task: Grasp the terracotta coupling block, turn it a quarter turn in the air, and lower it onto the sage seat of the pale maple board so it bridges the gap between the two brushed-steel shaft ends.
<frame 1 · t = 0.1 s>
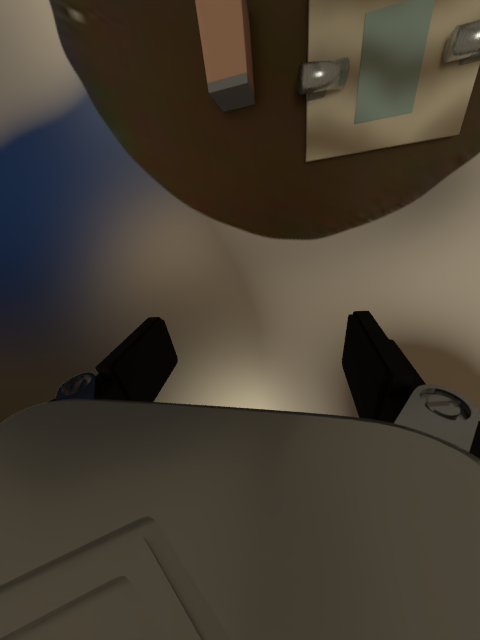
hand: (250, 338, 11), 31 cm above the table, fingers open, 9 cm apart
coupler: (234, 66, 28), on the table
shaft angled: (322, 76, 24), point 4 cm above the table
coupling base: (384, 72, 26), on the table
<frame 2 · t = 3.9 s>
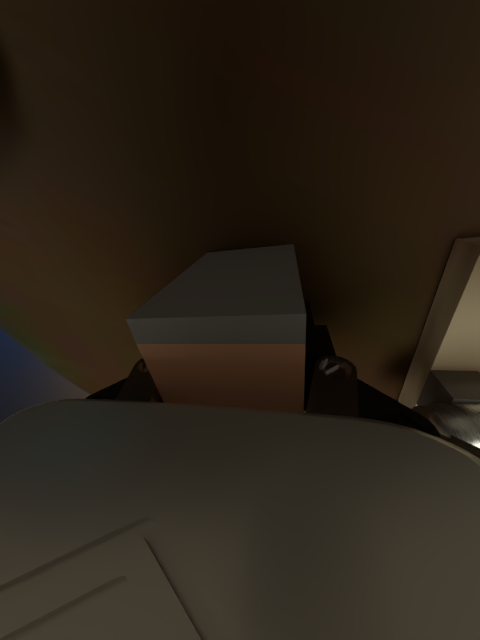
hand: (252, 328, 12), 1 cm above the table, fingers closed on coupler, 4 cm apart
coupler: (255, 316, 13), on the table, touching gripper
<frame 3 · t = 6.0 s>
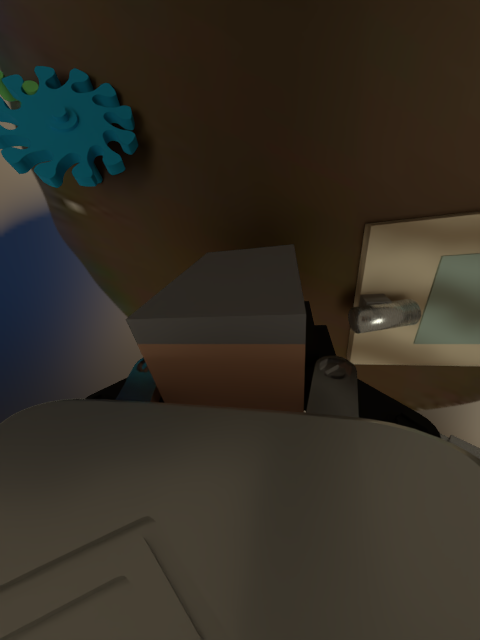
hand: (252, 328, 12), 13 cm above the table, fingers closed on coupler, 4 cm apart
coupler: (255, 316, 13), point 11 cm above the table, touching gripper
gear: (98, 135, 19), on the table
shaft angled: (382, 316, 19), point 4 cm above the table
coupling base: (455, 296, 21), on the table
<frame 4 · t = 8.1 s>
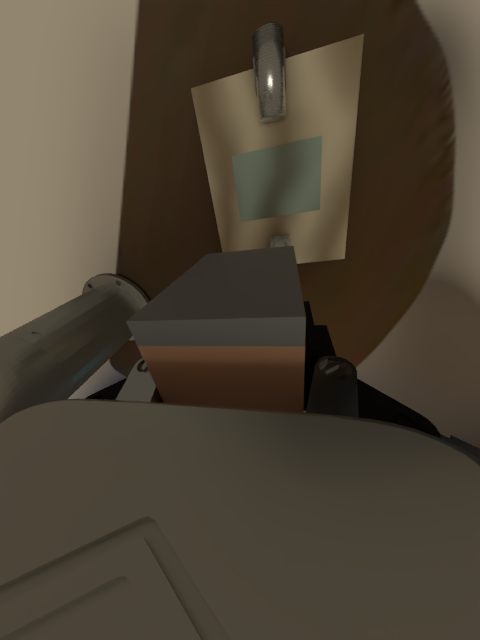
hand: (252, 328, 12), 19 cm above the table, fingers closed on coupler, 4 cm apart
coupler: (255, 317, 13), point 18 cm above the table, touching gripper
shaft angled: (280, 258, 25), point 4 cm above the table
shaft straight: (270, 79, 18), point 3 cm above the table
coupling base: (277, 184, 24), on the table
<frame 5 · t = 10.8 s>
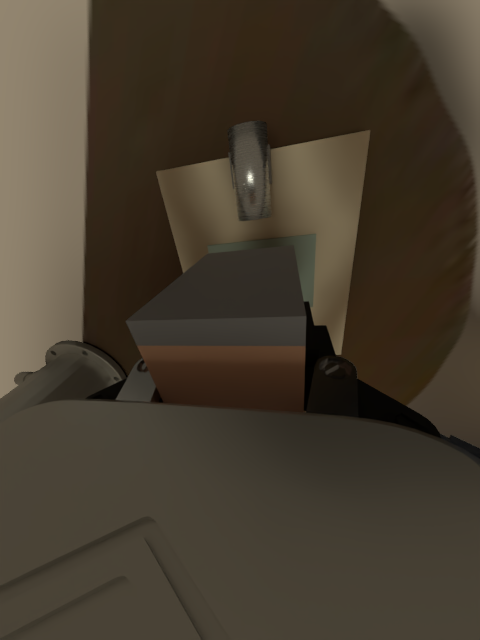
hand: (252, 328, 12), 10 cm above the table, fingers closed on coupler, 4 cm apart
coupler: (255, 316, 13), point 9 cm above the table, touching gripper
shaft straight: (251, 177, 14), point 3 cm above the table
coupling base: (263, 271, 21), on the table
when the fingers open (4 cm above the table, at t = 12.7 s): coupler stays where it is, resting on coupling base.
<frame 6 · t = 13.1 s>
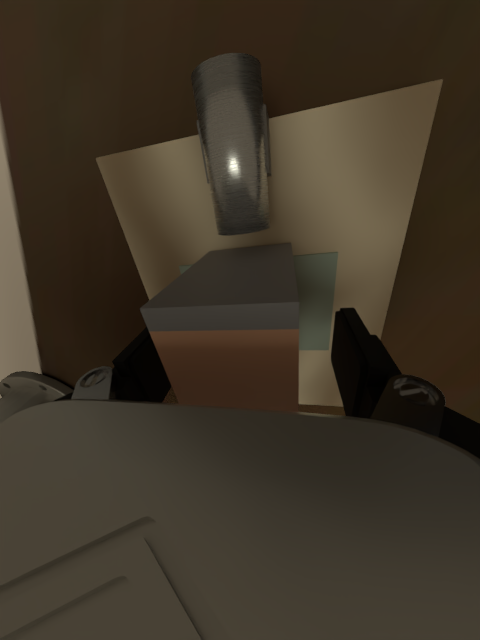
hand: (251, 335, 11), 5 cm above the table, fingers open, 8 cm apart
coupler: (255, 311, 14), point 2 cm above the table, touching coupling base
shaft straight: (236, 163, 9), point 3 cm above the table
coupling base: (259, 298, 15), on the table
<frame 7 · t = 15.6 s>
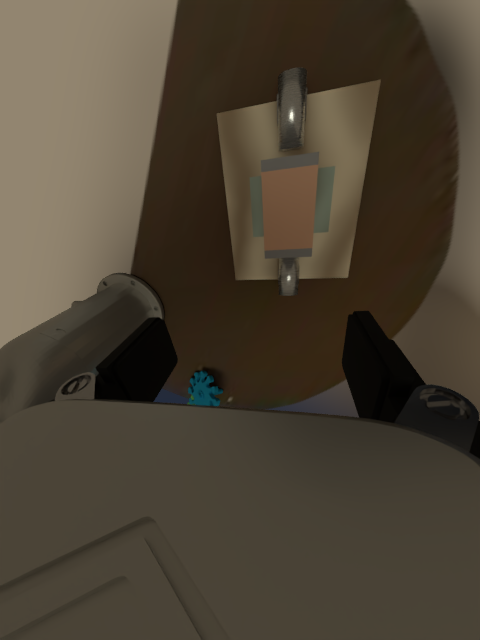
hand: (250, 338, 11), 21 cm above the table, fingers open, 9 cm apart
coupler: (289, 206, 25), point 2 cm above the table, touching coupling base
gear: (208, 381, 47), on the table
shaft angled: (288, 274, 27), point 4 cm above the table
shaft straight: (291, 114, 20), point 3 cm above the table
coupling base: (289, 204, 26), on the table
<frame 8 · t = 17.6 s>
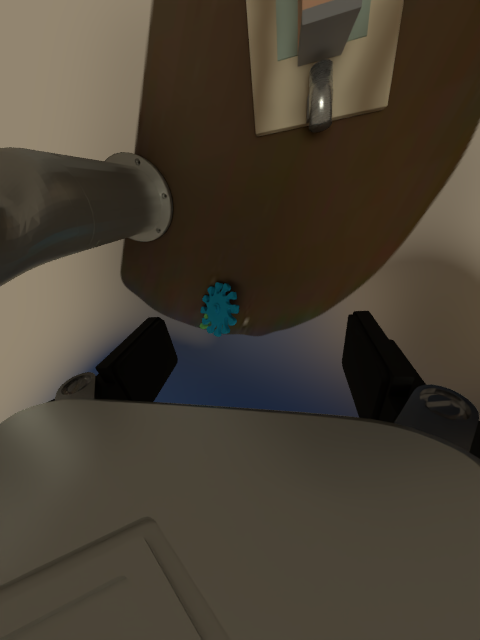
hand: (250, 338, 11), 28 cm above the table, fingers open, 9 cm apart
coupler: (321, 1, 21), point 2 cm above the table, touching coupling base
gear: (222, 301, 43), on the table
shaft angled: (320, 98, 23), point 4 cm above the table
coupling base: (319, 12, 22), on the table
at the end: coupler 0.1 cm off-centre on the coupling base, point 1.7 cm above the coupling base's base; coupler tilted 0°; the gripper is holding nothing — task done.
